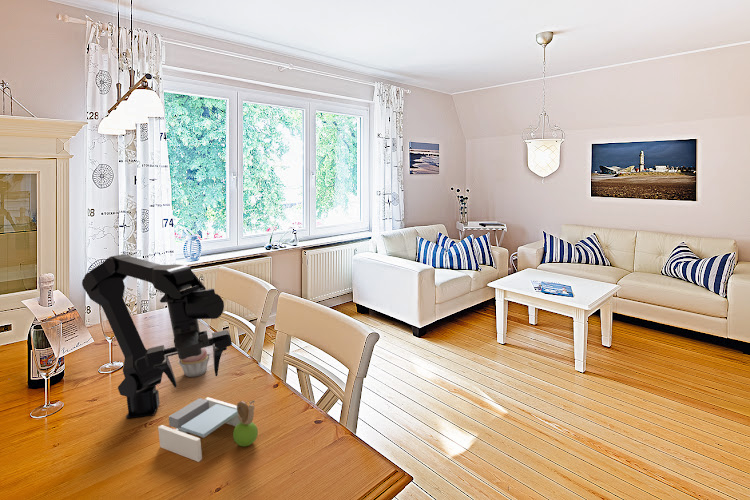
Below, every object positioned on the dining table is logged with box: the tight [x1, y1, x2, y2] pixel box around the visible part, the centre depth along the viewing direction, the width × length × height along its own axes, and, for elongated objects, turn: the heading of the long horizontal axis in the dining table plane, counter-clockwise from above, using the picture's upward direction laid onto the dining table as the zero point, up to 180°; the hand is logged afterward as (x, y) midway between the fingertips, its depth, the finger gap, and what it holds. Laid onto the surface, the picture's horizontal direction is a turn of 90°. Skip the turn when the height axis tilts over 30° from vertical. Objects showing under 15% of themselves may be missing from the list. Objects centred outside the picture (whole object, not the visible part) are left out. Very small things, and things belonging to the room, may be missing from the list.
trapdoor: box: [168, 397, 238, 438], centre depth 101 cm, size 11×12×2 cm
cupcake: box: [178, 347, 211, 378], centre depth 134 cm, size 9×9×10 cm
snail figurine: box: [232, 399, 259, 447], centre depth 98 cm, size 5×6×12 cm
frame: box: [157, 396, 240, 463], centre depth 102 cm, size 14×12×5 cm
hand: (196, 381), depth 104 cm, fingers open, 9 cm apart
